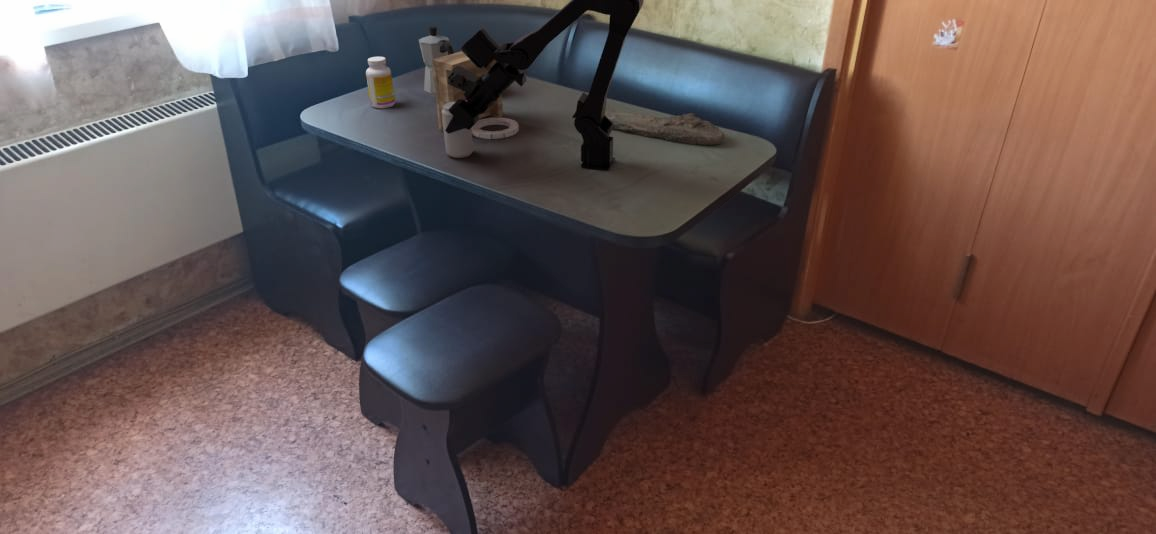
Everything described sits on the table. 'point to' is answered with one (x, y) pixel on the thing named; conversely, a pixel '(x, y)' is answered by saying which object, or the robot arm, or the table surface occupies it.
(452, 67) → the wooden tray
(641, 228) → the table surface
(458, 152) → the beverage can
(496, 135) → the socket ring
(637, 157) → the table surface
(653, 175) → the table surface
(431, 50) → the coffee maker
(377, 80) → the supplement bottle
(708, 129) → the elongated rock
